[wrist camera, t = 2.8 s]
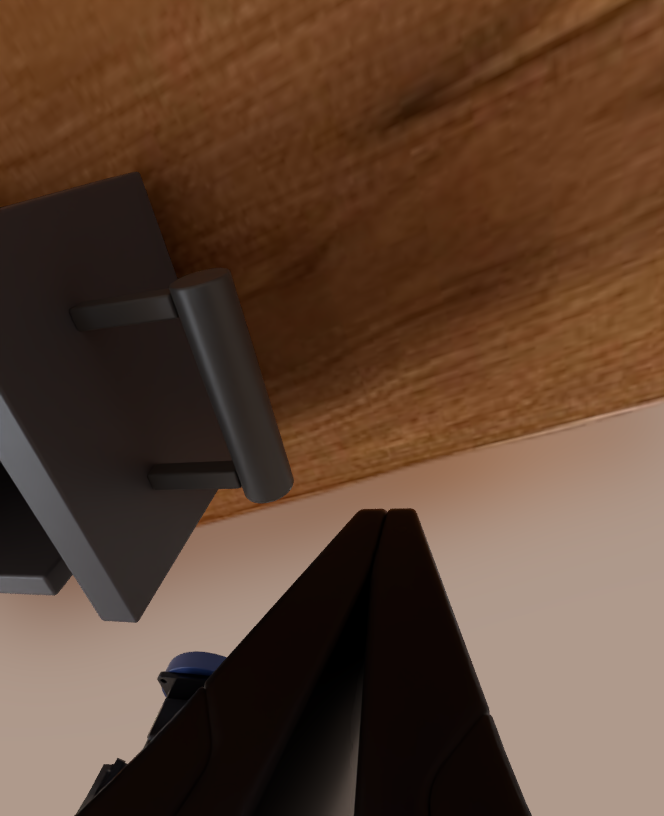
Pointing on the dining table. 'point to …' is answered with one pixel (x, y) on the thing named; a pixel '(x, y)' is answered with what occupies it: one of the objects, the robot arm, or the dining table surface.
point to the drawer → (118, 398)
